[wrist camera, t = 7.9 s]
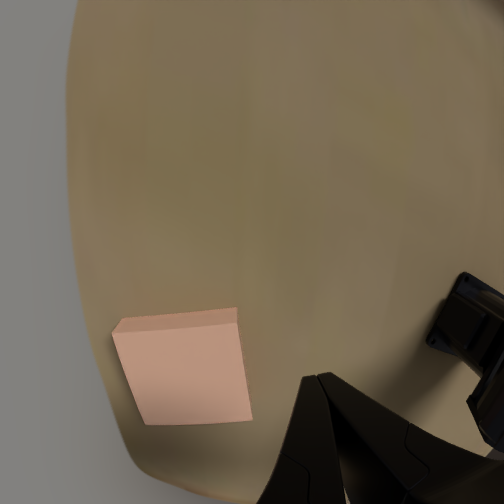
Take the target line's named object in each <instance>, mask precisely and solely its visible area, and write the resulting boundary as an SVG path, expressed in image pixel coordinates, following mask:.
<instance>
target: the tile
mask: <svg viewBox="0 0 504 504" xmlns="http://www.w3.org/2000/svg"><path fill="white" fill-rule="evenodd" d="M112 336H113V339H114V343H115V346H116V349H117V352H118V355H119V358H120V361H121V364H122V366H123V369H124V372H125V375H126V378H127V380H128V383H129V386H130V388H131V391H132V393H133V396H134V399H135V401H136V404H137V406H138V408H139V411H140V413H141V416H142V418H143V420H144V423H145V425H192V424H212V423H227V422H239V421H249V420H253V416H252V401H251V394H250V388H249V382H248V376H247V369H246V363H245V357H244V350H243V344H242V337H241V331H240V324H239V317H238V310H237V307H233V308H225V309H216V310H206V311H197V312H187V313H176V314H165V315H154V316H142V317H129V318H122V319H121V321H120V322H119V324H118V325H117V326H116V328H115V329H114V330H113V332H112Z"/></svg>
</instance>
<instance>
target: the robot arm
mask: <svg viewBox="0 0 504 504" xmlns="http://www.w3.org/2000/svg"><path fill="white" fill-rule="evenodd" d="M465 277H466V279H465ZM464 279H465V280H464ZM432 340H433V341H432ZM431 341H432V342H431ZM426 344H427V345H428V346H429V347H431V348H434V349H437V350H440V351H443V352H446V353H449V354H452V355H455V356H458V357H459V358H461V359H462V360H463V361H464V362H465V363H466V364H467V365H468V366H469V367H470V368H471V369H472V370H473V371H474V372H475V373H476V374H477V375H478V376H479V377H480V378H481V379H480V381H479V383H478V384H477V386H476V388H475V389H474V391H473V393H472V394H471V395H469V397H468V399H467V400H466V402H467V404H468V407H469V409H470V411H471V413H472V415H473V417H474V420H475V422H476V424H477V426H478V429H479V431H480V433H481V435H482V437H483V440H484V441H485V443H487V444H489V445H490V446H491V447H493V448H494V449H496V450H498V451H500V452H503V453H504V295H503V294H501V293H500V292H498V291H497V290H495V289H493V288H492V287H490V286H489V285H487V284H486V283H484V282H482V281H481V280H479V279H477V278H476V277H474V276H473V275H471V274H469V273H467V272H463V273H461V275H460V277H459V279H458V281H457V283H456V285H455V287H454V289H453V291H452V293H451V295H450V297H449V299H448V301H447V303H446V305H445V307H444V309H443V310H442V312H441V314H440V316H439V318H438V320H437V321H436V323H435V325H434V327H433V328H432V330H431V332H430V334H429V335H428V337H427V339H426ZM343 486H344V487H343ZM344 489H345V491H346V494H347V496H348V499H349V501H350V504H504V460H494V459H489V458H486V457H483V456H480V455H478V454H475V453H473V452H470V451H468V450H465V449H463V448H460V447H458V446H455V445H453V444H451V443H448V442H446V441H444V440H442V439H440V438H438V437H435V436H433V435H432V434H430V433H428V432H426V431H424V430H422V429H421V428H419V427H417V426H416V425H414V424H412V423H410V424H409V421H407V420H405V419H404V418H402V417H401V416H399V415H397V414H396V413H394V412H392V411H391V410H389V409H388V408H386V407H384V406H383V405H381V404H380V403H378V402H376V401H375V400H373V399H372V398H370V397H368V396H367V395H365V394H364V393H362V392H361V391H359V390H358V389H356V388H354V387H353V386H351V385H350V384H348V383H347V382H345V381H344V380H342V379H341V378H339V377H338V376H336V375H335V374H333V373H331V372H327V373H321V374H318V375H317V376H316V375H310V376H304V377H302V379H301V382H300V386H299V390H298V393H297V397H296V400H295V404H294V407H293V411H292V414H291V417H290V421H289V424H288V427H287V431H286V434H285V437H284V440H283V443H282V447H281V450H280V454H279V455H278V458H277V461H276V464H275V467H274V469H273V472H272V474H271V477H270V479H269V481H268V483H267V485H266V487H265V489H264V491H263V493H262V494H261V496H260V498H259V500H258V501H257V503H256V504H346V499H345V493H344Z"/></svg>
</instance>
